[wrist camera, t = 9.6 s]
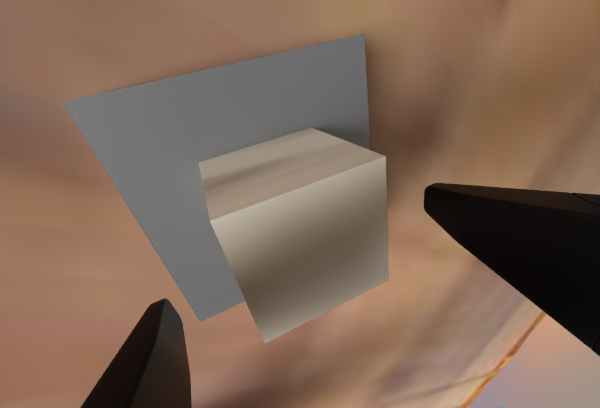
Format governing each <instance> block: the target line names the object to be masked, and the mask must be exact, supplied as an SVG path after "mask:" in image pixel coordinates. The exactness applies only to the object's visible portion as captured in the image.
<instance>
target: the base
mask: <svg viewBox="0 0 600 408" xmlns="http://www.w3.org/2000/svg"><path fill="white" fill-rule="evenodd" d="M63 104H64V105H65V107H66V108H67V110H68V112H69V113H70V115H71V116H72V118H73V120H74V121H75V123H76V124H77V126H78V128H79V129H80V131H81V132H82V134H83V136H84V137H85V139H86V140H87V142H88V143H89V145H90V147H91V148H92V150H93V151H94V153H95V155H96V156H97V158H98V159H99V161H100V163H101V164H102V166H103V167H104V169H105V171H106V172H107V174H108V175H109V177H110V179H111V180H112V182H113V183H114V185H115V187H116V188H117V190H118V191H119V193H120V194H121V196H122V198H123V199H124V201H125V202H126V204H127V206H128V207H129V209H130V210H131V212H132V214H133V215H134V217H135V218H136V220H137V222H138V223H139V225H140V226H141V228H142V230H143V231H144V233H145V234H146V236H147V237H148V239H149V241H150V242H151V244H152V245H153V247H154V249H155V250H156V252H157V253H158V255H159V257H160V258H161V260H162V261H163V263H164V265H165V266H166V268H167V269H168V271H169V273H170V274H171V276H172V277H173V279H174V280H175V282H176V284H177V285H178V287H179V288H180V290H181V292H182V293H183V295H184V296H185V298H186V300H187V301H188V303H189V304H190V306H191V308H192V309H193V311H194V312H195V314H196V316H197V317H198V319H199V320H200V322H201V321H203V320H205V319H207V318H209V317H211V316H214V315H216V314H218V313H220V312H222V311H224V310H227V309H229V308H231V307H233V306H235V305H237V304H240V303H242V302H244V301H246V300H245V298H244V296H243V294H242V291H241V289H240V287H239V285H238V283H237V280H236V278H235V276H234V274H233V271H232V269H231V267H230V265H229V263H228V260H227V258H226V256H225V254H224V252H223V249H222V247H221V245H220V243H219V240H218V238H217V236H216V234H215V232H214V229H213V227H212V225H211V223H210V220H209V214H208V209H207V204H206V199H205V194H204V189H203V184H202V179H201V173H200V168H199V163H198V162H202V161H205V160H208V159H211V158H215V157H218V156H221V155H224V154H227V153H231V152H234V151H237V150H240V149H244V148H247V147H250V146H253V145H257V144H260V143H263V142H266V141H270V140H273V139H276V138H279V137H283V136H286V135H289V134H292V133H295V132H299V131H302V130H305V129H308V128H314V129H317V130H319V131H322V132H324V133H327V134H330V135H332V136H335V137H337V138H340V139H343V140H345V141H348V142H350V143H353V144H355V145H358V146H361V147H363V148H366V149H368V150H371V144H370V127H369V109H368V92H367V74H366V57H365V39H364V34H361V35H357V36H352V37H348V38H344V39H339V40H335V41H330V42H326V43H321V44H317V45H313V46H308V47H304V48H299V49H295V50H290V51H286V52H282V53H277V54H273V55H268V56H264V57H259V58H255V59H250V60H246V61H242V62H237V63H233V64H228V65H224V66H219V67H215V68H211V69H206V70H202V71H197V72H193V73H188V74H184V75H180V76H175V77H171V78H166V79H162V80H157V81H153V82H149V83H144V84H140V85H135V86H131V87H126V88H122V89H117V90H113V91H109V92H104V93H100V94H95V95H91V96H86V97H82V98H78V99H73V100H69V101H64V102H63Z"/></svg>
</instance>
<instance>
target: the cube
mask: <svg viewBox="0 0 600 408" xmlns="http://www.w3.org/2000/svg"><path fill="white" fill-rule="evenodd" d="M198 163H199V168H200V173H201V179H202V184H203V189H204V194H205V199H206V204H207V209H208V214H209V220H210V223H211V225H212V227H213V229H214V232H215V234H216V236H217V238H218V240H219V243H220V245H221V247H222V249H223V252H224V254H225V256H226V258H227V260H228V263H229V265H230V267H231V269H232V271H233V274H234V276H235V278H236V280H237V283H238V285H239V287H240V289H241V291H242V294H243V296H244V298H245V300H246V303H247V305H248V307H249V309H250V311H251V314H252V316H253V318H254V320H255V323H256V325H257V327H258V329H259V331H260V334H261V336H262V338H263V340H264V343H267V342H269V341H271V340H273V339H275V338H277V337H279V336H280V335H282V334H284V333H286V332H288V331H290V330H292V329H294V328H296V327H298V326H300V325H302V324H304V323H306V322H308V321H310V320H312V319H314V318H316V317H318V316H320V315H322V314H323V313H325V312H327V311H329V310H331V309H333V308H335V307H337V306H339V305H341V304H343V303H345V302H347V301H349V300H351V299H353V298H355V297H357V296H359V295H361V294H363V293H365V292H366V291H368V290H370V289H372V288H374V287H376V286H378V285H380V284H382V283H384V282H386V281H388V280H389V265H388V225H387V184H386V156H384V155H381V154H379V153H376V152H374V151H371V150H368V149H366V148H363V147H361V146H358V145H355V144H353V143H350V142H348V141H345V140H343V139H340V138H337V137H335V136H332V135H330V134H327V133H324V132H322V131H319V130H317V129H314V128H308V129H305V130H302V131H299V132H295V133H292V134H289V135H286V136H283V137H279V138H276V139H273V140H270V141H266V142H263V143H260V144H257V145H253V146H250V147H247V148H244V149H240V150H237V151H234V152H231V153H227V154H224V155H221V156H218V157H215V158H211V159H208V160H205V161H202V162H198Z"/></svg>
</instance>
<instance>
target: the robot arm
mask: <svg viewBox="0 0 600 408" xmlns="http://www.w3.org/2000/svg"><path fill="white" fill-rule="evenodd" d="M424 209H425V211H426V213H427V214H428V215H429V216H430V217H431V218H432V219H434V220H435V221H436V222H437V223H438V224H439V225H440V226H441V227H442V228H443V229H444V230H445V231H446V232H447V233H448V234H449V235H450V236H451V237H452V238H453V239H454V240H456V241H457V242H458V243H459V244H460V245H461V246H463V247H464V248H465V249H466V250H468V251H469V252H470V253H471V254H473V255H474V256H475V257H476V258H478V259H479V260H480V261H481V262H483V263H484V264H485V265H486V266H488V267H489V268H490V269H491V270H493V271H494V272H495V273H496V274H498V275H499V276H500V277H501V278H503V279H504V280H505V281H506V282H508V283H509V284H510V285H511V286H513V287H514V288H515V289H516V290H518V291H519V292H520V293H521V294H523V295H524V296H525V297H526V298H528V299H529V300H530V301H531V302H533V303H534V304H535V305H536V306H538V307H539V308H540V309H542V310H543V311H544V312H545V313H547V314H548V315H549V316H550V317H552V318H553V319H554V320H555V321H557V322H558V323H559V324H560V325H562V326H563V327H564V328H565V329H567V330H568V331H569V332H570V333H572V334H573V335H574V336H576V337H577V338H578V339H579V340H580V341H582V342H583V343H584V344H585V345H587V346H588V347H589V348H591V349H592V350H593V351H594V352H595V353H596V354H597V355H599V356H600V195H595V194H581V193H571V194H570V193H567V192H553V191H540V190H526V189H513V188H499V187H486V186H472V185H459V184H445V183H435V184H432V185H430V186H428V187H426V189H425V193H424ZM80 408H191V382H190V371H189V364H188V357H187V351H186V344H185V337H184V331H183V324H182V320H181V318H180V316H179V314H178V313H177V311H176V310H175V309H174V307H173V306H172V304H171V303H170V301H169V300H168V299H162V300H159V301H157V302H155V303H152V304H151V305H150V306H149V307H148V308H147V310H146V311H145V313H144V314H143V316H142V317H141V319H140V320H139V322H138V323H137V325H136V326H135V328H134V329H133V330H132V332H131V333H130V335H129V336H128V338H127V339H126V341H125V342H124V344H123V345H122V347H121V348H120V350H119V351H118V353H117V354H116V356H115V357H114V359H113V360H112V362H111V363H110V365H109V366H108V368H107V369H106V370H105V372H104V373H103V375H102V376H101V378H100V379H99V381H98V382H97V384H96V385H95V387H94V388H93V390H92V391H91V393H90V394H89V396H88V397H87V399H86V400H85V402H84V403H83V405H82V406H81V407H80Z"/></svg>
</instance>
